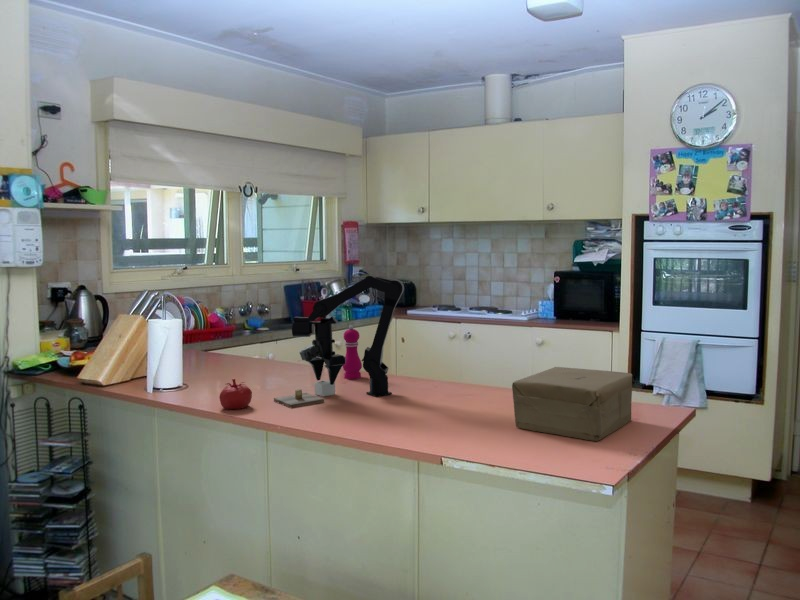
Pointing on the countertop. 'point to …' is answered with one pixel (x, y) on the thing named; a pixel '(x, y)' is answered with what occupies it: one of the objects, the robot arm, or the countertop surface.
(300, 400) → the post stand
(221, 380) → the countertop surface
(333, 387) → the white cube
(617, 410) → the paper package
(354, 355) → the pepper mill
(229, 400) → the red tomato
